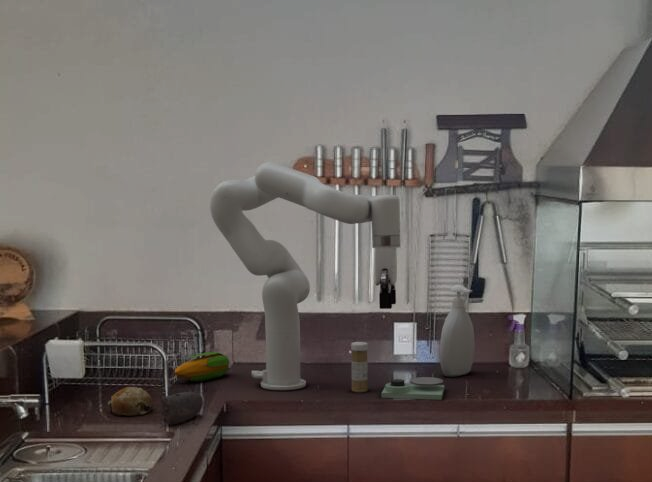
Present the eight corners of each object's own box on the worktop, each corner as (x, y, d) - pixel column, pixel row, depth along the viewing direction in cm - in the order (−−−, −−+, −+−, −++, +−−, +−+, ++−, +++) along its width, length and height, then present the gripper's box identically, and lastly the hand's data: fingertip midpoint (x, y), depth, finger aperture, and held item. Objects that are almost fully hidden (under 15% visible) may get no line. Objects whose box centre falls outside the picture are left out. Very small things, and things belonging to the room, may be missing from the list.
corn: (235, 349, 265) (183, 359, 248) (237, 374, 266) (185, 386, 249) (217, 348, 269) (165, 358, 253) (219, 373, 270) (167, 385, 254)
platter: (408, 385, 241) (408, 383, 240) (412, 378, 249) (412, 376, 249) (442, 386, 240) (442, 384, 239) (444, 379, 248) (444, 377, 248)
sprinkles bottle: (361, 388, 250) (361, 340, 247) (371, 391, 246) (371, 343, 244) (347, 390, 247) (347, 342, 245) (357, 393, 243) (357, 344, 241)
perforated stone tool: (193, 412, 221) (193, 384, 220) (211, 414, 219) (210, 387, 218) (153, 426, 208) (152, 397, 207) (172, 429, 206) (171, 399, 205)
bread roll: (129, 432, 216) (139, 404, 214) (96, 410, 219) (107, 382, 217) (154, 422, 226) (164, 395, 223) (123, 401, 228) (133, 375, 226)
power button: (390, 387, 239) (390, 381, 239) (391, 384, 243) (391, 378, 243) (403, 387, 239) (403, 382, 239) (405, 385, 242) (405, 379, 242)
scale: (381, 398, 239) (381, 387, 238) (387, 388, 251) (387, 377, 250) (441, 400, 237) (441, 389, 236) (444, 390, 249) (444, 379, 248)
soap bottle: (453, 380, 261) (455, 288, 256) (432, 376, 267) (434, 285, 262) (484, 373, 272) (486, 284, 267) (463, 369, 277) (465, 282, 272)
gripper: (376, 240, 247) (378, 302, 249) (367, 244, 230) (369, 310, 233) (403, 240, 246) (405, 302, 249) (396, 243, 229) (398, 310, 232)
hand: (387, 306), depth 241 cm, fingers open, 9 cm apart
